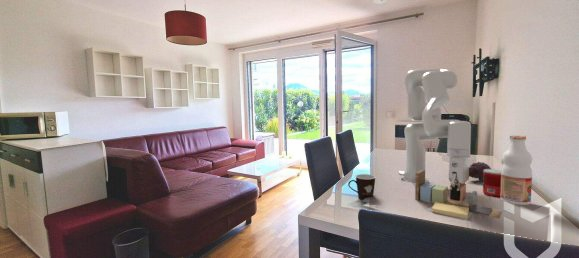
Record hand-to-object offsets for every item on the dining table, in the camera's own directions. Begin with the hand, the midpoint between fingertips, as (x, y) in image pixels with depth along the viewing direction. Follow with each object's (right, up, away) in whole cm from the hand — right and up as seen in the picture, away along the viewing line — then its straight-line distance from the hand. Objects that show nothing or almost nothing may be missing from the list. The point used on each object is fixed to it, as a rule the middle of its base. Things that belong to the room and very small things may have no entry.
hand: (457, 197), depth 102 cm
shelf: (0, -5, +1) cm, 5 cm away
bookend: (+5, -4, -5) cm, 8 cm away
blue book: (-7, -3, +8) cm, 11 cm away
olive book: (-4, -3, +5) cm, 7 cm away
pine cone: (+36, -1, +37) cm, 51 cm away
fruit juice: (+26, -4, +4) cm, 27 cm away
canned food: (+26, -3, +15) cm, 30 cm away
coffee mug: (-33, -5, +16) cm, 37 cm away
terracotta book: (0, -1, 0) cm, 1 cm away
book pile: (-6, -6, -5) cm, 10 cm away
